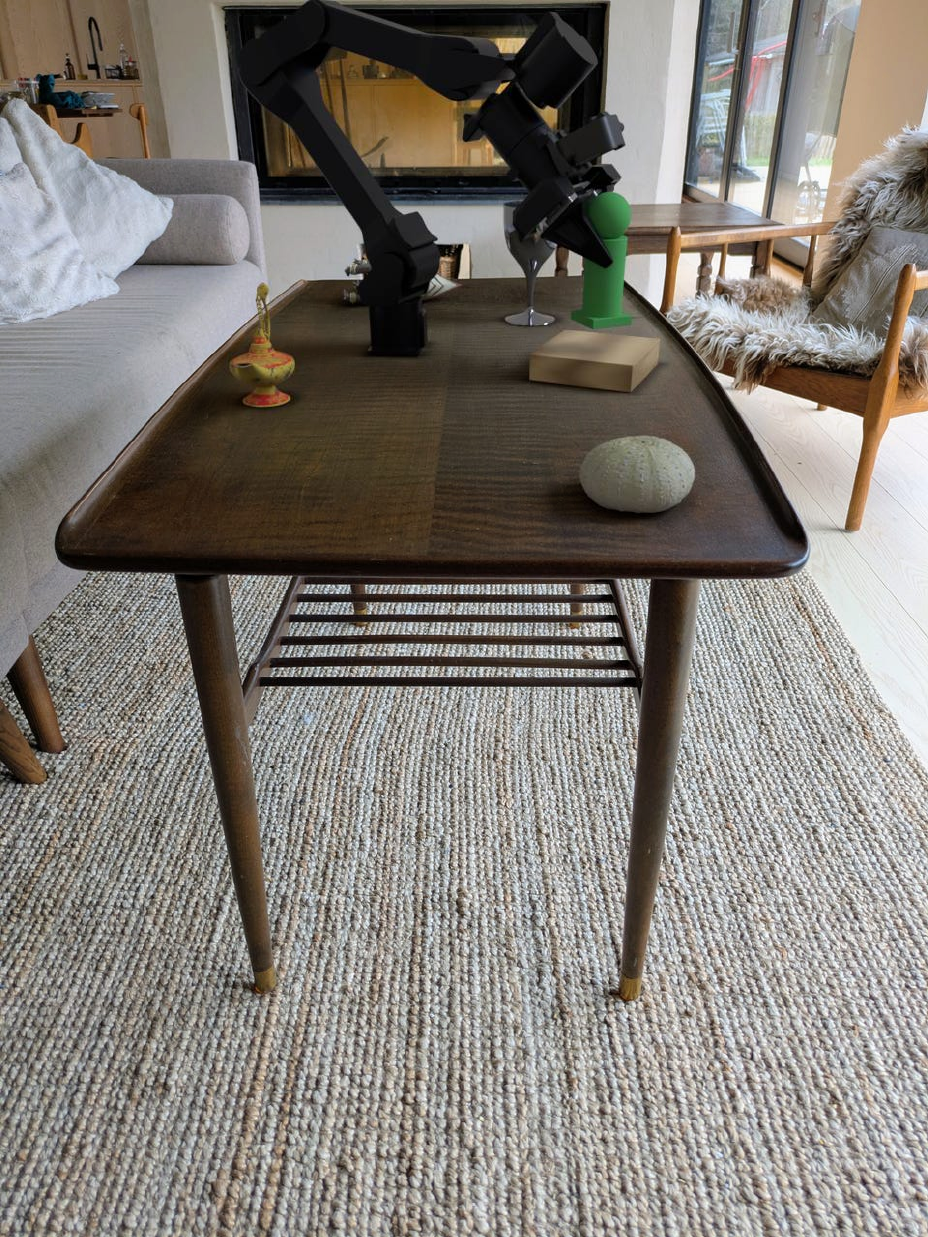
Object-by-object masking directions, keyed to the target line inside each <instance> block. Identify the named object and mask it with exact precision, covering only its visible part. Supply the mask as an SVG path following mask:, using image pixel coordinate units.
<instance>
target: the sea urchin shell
mask: <svg viewBox="0 0 928 1237" xmlns="http://www.w3.org/2000/svg"><path fill="white" fill-rule="evenodd" d="M695 474H696V469H695V465H694V463H693V461H692V459H691V457H690V456H689V454H688V453H687V452H686V451H685V450H684V449H683V448H682V447H680V446H679V445H676V444H675V443H673V442H672V441H671V440H670V441H669V440H667V439H665V438H660V437H658V436H654V435H653V436H651V435H650V436H649V435H637V436H625V437H621V438H619V437H617V438H615V439H611V440H610V439H609V440H607V441H604V442H603V443H600V444H597V445H596V446H594V447H593V448H592V449H591V450H589V451H588V452H587V454H586V455H585V457H584V458H583V460H582V463H581V465H580V468H579V473H578V478H579V483H580V484H581V487H582V489H583V490H584V493H585V494H587V495H586V497H588V498H590V500H592V501H594V502H595V503H596V504H597V505H598V506H601V507H603V508H606V509H607V510H616V511H620V512H633V513H636V514H640V513H649V514H650V513H651V514H654V513H660V512H664V511H667V510H669V509H670V508H672V507H674V506H677V505H678V504H680V503H681V501H682V500H683V499H684V498H685V499H686V497H687V496H688V495H689V494H690V492H691V490H692V488H693V485H694V481H695V479H696V475H695Z"/></svg>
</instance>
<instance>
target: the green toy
mask: <svg viewBox="0 0 928 1237" xmlns="http://www.w3.org/2000/svg"><path fill="white" fill-rule="evenodd" d="M588 215H589V218H590V219H591V221H592V223H593V224H594V226H595V228H596V230H597V231H598V233H599V235H600V237H601V238H602V240H603V242H604V244H605V245H606V247H607V249H608V251H609V253H610V255H611V256H612V258H613V264H611V265H610V266H609V267H608V268H603V267H601V266H599V265H597V264H596V263H594V262H592V261H590V260H588V259H586V258H584V270H583V283H582V284H583V287H582V289H583V290H582V300H581V301H582V304H581V308H580V309H574V310H573V309H572V310H570V320H571V321H574V322H575V323H578V324H580V325H582V326H585V327H587V328H589V329H591V330H598V329H599V330H600V329H608V328H616V327H624V326H631V325H632V322H633V315H631V314H629V313H627V312H623V311H622V308H623V296H624V284H625V273H626V272H625V271H626V260H627V256H626V251H627V249H628V236H626V235H624V234H625V233H626V232H627V230H628V229H629V226H630V224H631V222H632V221H631V220H632V209H631V206H630V204H629V202H628V200H627V199H626V198H625V197H624V196H623V195H621V194H620V193H618V192H614V191H613V192H605V193H602V194H600V195H598V196H597V197H595V198H594V199H593V200H592V201H591V203H590V204H589V206H588Z"/></svg>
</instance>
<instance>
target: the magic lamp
mask: <svg viewBox="0 0 928 1237" xmlns="http://www.w3.org/2000/svg"><path fill="white" fill-rule="evenodd" d="M269 291H270V289H269V287H268V285H267V284H266V283H264V282H261V283H259V285H258V286H257V288H256V298H255V304H256V308H257V314H258V319H259V326H260V328H256V331H255V332H254V333H253V334H252V338H253V339H254V340H253V341H252V343H251V344H250V347H249V350H248V352H246V353H243V354H240V355H237V356H236V357H234V358H233V359H231V361H230V362H229V371H230V373H231V374H232V376H233V377H234V378H235V380H237V381H239V382H240V383H242V384H245V385H247V386H251V387H254V389H253V391H252V392H251V393H250V394H249V395H247V396H245V397H244V398H243V399H242V403H243V404H244V405H245V406H248V407H253V408H272V407H277V406H281V405H284V404H286V403H288V402H289V401H291V397H290V395H289V394H288V393H284V392H282V391H280V390H279V389H278V388H277V387H276V385H278V384H281V383H283V382H284V381H286V380H287V379H288V378H289V377H291V375H292V374H293V373H294V370H295V364H296V363H295V359H294V358H293V356H292V355H290V354H288V353H285V352H283V351H277V350H275V348H274V346H273V345H272V343H271V341H270V339H271V317H270V312H269V308H268V305H267V303H266V302H267V301H266V300H267V297H268V295H269V293H270V292H269ZM261 302H262V303H261ZM262 304H263V307H262ZM263 308H264V311H265V315H266V323H265V318H264V313H263ZM266 324H267V329H266Z"/></svg>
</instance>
